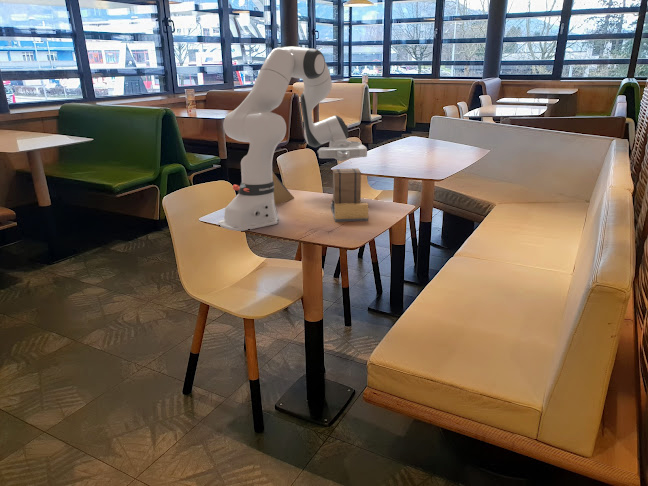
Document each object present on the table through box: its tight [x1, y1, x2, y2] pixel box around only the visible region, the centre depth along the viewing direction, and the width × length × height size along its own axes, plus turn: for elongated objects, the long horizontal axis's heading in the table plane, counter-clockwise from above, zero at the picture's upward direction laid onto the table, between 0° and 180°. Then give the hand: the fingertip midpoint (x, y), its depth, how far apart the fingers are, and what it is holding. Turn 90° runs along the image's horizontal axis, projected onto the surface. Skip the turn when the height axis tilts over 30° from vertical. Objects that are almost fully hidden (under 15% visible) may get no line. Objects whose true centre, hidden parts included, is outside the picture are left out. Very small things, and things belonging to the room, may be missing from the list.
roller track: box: [330, 199, 369, 223], centre depth 188 cm, size 22×12×6 cm, turn 4°
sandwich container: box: [272, 171, 295, 206], centre depth 206 cm, size 9×15×15 cm, turn 146°
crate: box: [332, 168, 362, 204], centre depth 192 cm, size 8×10×12 cm
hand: (344, 155), depth 198 cm, fingers closed
